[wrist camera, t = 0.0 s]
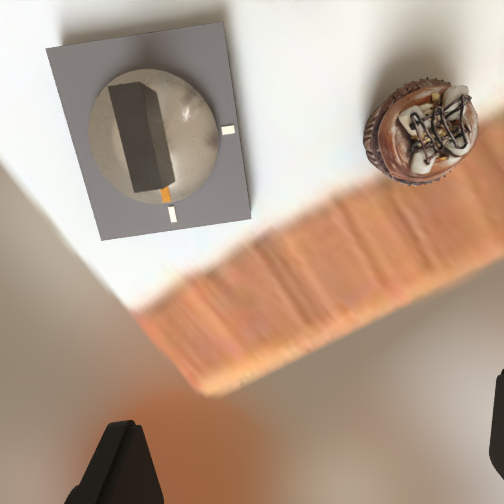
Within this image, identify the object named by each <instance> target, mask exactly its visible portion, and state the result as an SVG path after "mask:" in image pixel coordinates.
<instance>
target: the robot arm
mask: <svg viewBox="0 0 504 504" xmlns="http://www.w3.org/2000/svg"><path fill="white" fill-rule="evenodd" d="M489 456H490V460H491V462H492V464H493V466H494V468H495V469H496V471H497V472H498V473H499V474H500V476H501V477H502V478H503V479H504V369H503V370H502V372H501V375H498V377H497V379H496V388H495V398H494V408H493V419H492V429H491V437H490V447H489ZM64 504H164V498H163V494H162V491H161V488H160V484H159V481H158V478H157V474H156V471H155V468H154V465H153V461H152V458H151V455H150V452H149V448H148V445H147V442H146V439H145V435H144V432H143V429H142V427H141V425H136V424H135V422H134V421H133V420H127V421H120V422H112V423H110V424H108V426H107V428H106V430H105V431H104V434H103V436H102V438H101V440H100V442H99V444H98V446H97V448H96V451H95V453H94V455H93V457H92V459H91V461H90V463H89V465H88V467H87V470H86V472H85V474H84V476H83V478H82V480H81V482H80V484H79V485H77V486H76V487H75V488H74V489H72V491H71V492H70V494H69V495H68V497H67V499H66V501H65V503H64Z"/></svg>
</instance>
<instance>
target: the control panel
mask: <svg viewBox="0 0 504 504" xmlns="http://www.w3.org/2000/svg"><path fill="white" fill-rule="evenodd" d="M46 52H47V55H48V59H49V62H50V66H51V69H52V73H53V76H54V79H55V83H56V86H57V90H58V93H59V97H60V100H61V103H62V107H63V110H64V114H65V117H66V121H67V124H68V127H69V131H70V134H71V138H72V141H73V145H74V148H75V151H76V155H77V158H78V162H79V165H80V169H81V172H82V175H83V179H84V182H85V186H86V189H87V193H88V196H89V200H90V203H91V206H92V210H93V213H94V217H95V220H96V224H97V227H98V230H99V234H100V237H101V241H103V240H110V239H117V238H124V237H131V236H138V235H144V234H151V233H158V232H165V231H172V230H179V229H186V228H193V227H199V226H206V225H213V224H220V223H227V222H234V221H241V220H248V219H251V212H250V206H249V199H248V192H247V185H246V178H245V171H244V164H243V157H242V150H241V143H240V136H239V129H238V122H237V115H236V108H235V101H234V95H233V88H232V81H231V74H230V67H229V60H228V53H227V46H226V39H225V32H224V25H223V22H216V23H210V24H203V25H197V26H190V27H183V28H177V29H170V30H164V31H157V32H151V33H144V34H138V35H131V36H125V37H118V38H111V39H105V40H98V41H92V42H85V43H79V44H72V45H66V46H59V47H53V48H46ZM140 69H155V70H160V71H165V72H168V73H171V74H173V75H175V76H177V77H179V78H181V79H183V80H184V81H186V82H187V83H189V84H190V85H191V86H192V87H193V88H194V89H195V90H197V92H198V93H199V94H200V95H201V96H202V97H203V99H204V100H205V102H206V103H207V105H208V106H209V108H210V110H211V112H212V114H213V116H214V119H215V122H216V126H217V130H218V138H219V149H218V155H217V159H216V163H215V166H214V168H213V170H212V172H211V174H210V176H209V177H208V179H207V180H206V181H205V183H204V184H203V185H202V186H201V187H200V188H199V189H198V190H197V191H196V192H194V193H193V194H192V195H190V196H188V197H186V198H185V199H183V200H180V201H177V202H173V203H169V204H149V203H144V202H141V201H137V200H135V199H132V198H130V197H128V196H126V195H125V194H123V193H121V192H120V191H119V190H117V189H116V188H115V187H114V186H113V185H112V184H111V183H110V182H109V181H108V180H107V179H106V178H105V177H104V175H103V174H102V173H101V171H100V169H99V168H98V166H97V164H96V162H95V160H94V158H93V155H92V152H91V148H90V144H89V136H88V125H89V118H90V113H91V110H92V107H93V105H94V103H95V101H96V98H97V97H98V95H99V94H100V92H101V91H102V90H103V89H104V88H105V87H106V86H107V84H109V83H110V82H111V81H112V80H114V79H115V78H117V77H119V76H120V75H122V74H125V73H127V72H130V71H134V70H140Z"/></svg>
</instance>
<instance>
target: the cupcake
mask: <svg viewBox="0 0 504 504" xmlns="http://www.w3.org/2000/svg"><path fill="white" fill-rule="evenodd" d="M468 92H469V91H468V87H467V86H464V85H460V86H451V85H450V82H449V83H446V82H444V81H443V79H442V80H441V81H440V80H437V78H435V79H428V77H427V78H425V79H423V80H422V79H421V78H420V79H419V80H418V81H417V82H414V81H412V82H411V83H409V84H404V85H403V87H402V88H400V89H397V90H396V91H395V92H394V93H393V94H391V95H390V96H389V98H388V99H387V100H386V101H385V102H384V103H383V105H381V106H380V107H379V108H378V109H377V110H376V111H375V112H374V114H373V115H372V116H371V117H370V119H369V120H368V123H367V125H366V129H365V131H364V138H363V144H364V147H365V149H366V154H367V157H368V160H369V161H370V162H371V163H372V164H373V165H374V166H375V167H376V168H378V169H379V170H380V171H381V172H383V174H384V175H385V176H387V177H388V178H389V179H393V180H394V181H395V182H400V183H401V184H407V185H408V186H411V184H412V185H414V186H418V185H422V184H427V183H432V181H439V180H440V177H442V176H443V177H446V173H447V172H451V170H452V169H453V168H455V167H456V166H457V165H459V164H460V163H461V162H462V161H463V160H464V159H465V158H466V157H467V156H468V154H469V153H470V152H471V150H472V148H473V147H474V145H475V143H476V140H477V137H478V130H479V122H478V116H477V113H476V111H475V109H474V107H473V105H472V103H471V101H470V100H471V98H472V97H470V96H469V95H468Z"/></svg>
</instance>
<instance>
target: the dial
mask: <svg viewBox="0 0 504 504" xmlns="http://www.w3.org/2000/svg"><path fill="white" fill-rule="evenodd" d="M88 136H89V144H90V148H91V152H92V155H93V158H94V160H95V162H96V164H97V166H98V168H99V169H100V171H101V173H102V174H103V175H104V177H105V178H106V179H107V180H108V181H109V182H110V183H111V184H112V185H113V186H114V187H115V188H116V189H117V190H119V191H120V192H121V193H123V194H125V195H126V196H128V197H130V198H132V199H135V200H137V201H141V202H144V203H149V204H169V203H173V202H177V201H180V200H183V199H185V198H186V197H188V196H190V195H192V194H193V193H194V192H196V191H197V190H198V189H199V188H200V187H201V186H202V185H203V184H204V183H205V181H206V180H207V179H208V177H209V176H210V174H211V172H212V170H213V168H214V166H215V163H216V159H217V155H218V149H219V138H218V130H217V126H216V122H215V119H214V116H213V114H212V112H211V110H210V108H209V106H208V105H207V103H206V102H205V100H204V99H203V97H202V96H201V95H200V94H199V93H198V92H197V90H195V89H194V88H193V87H192V86H191V85H190V84H189V83H187V82H186V81H184V80H183V79H181V78H179V77H177V76H175V75H173V74H171V73H168V72H165V71H160V70H155V69H140V70H134V71H130V72H127V73H125V74H122V75H120V76H119V77H117V78H115V79H114V80H112V81H111V82H110V83H109V84H107V86H106V87H105V88H104V89H103V90H102V91H101V92H100V94H99V95H98V97H97V98H96V101H95V103H94V105H93V107H92V110H91V113H90V118H89V125H88Z"/></svg>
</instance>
